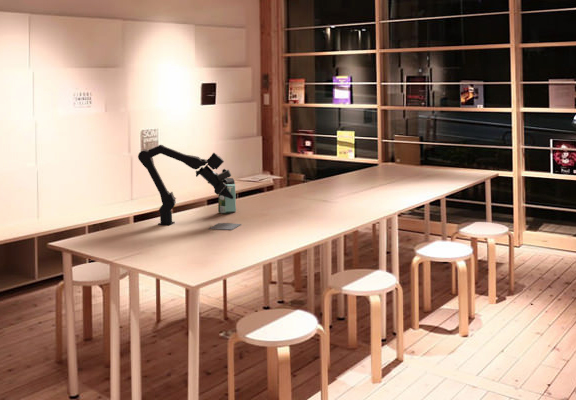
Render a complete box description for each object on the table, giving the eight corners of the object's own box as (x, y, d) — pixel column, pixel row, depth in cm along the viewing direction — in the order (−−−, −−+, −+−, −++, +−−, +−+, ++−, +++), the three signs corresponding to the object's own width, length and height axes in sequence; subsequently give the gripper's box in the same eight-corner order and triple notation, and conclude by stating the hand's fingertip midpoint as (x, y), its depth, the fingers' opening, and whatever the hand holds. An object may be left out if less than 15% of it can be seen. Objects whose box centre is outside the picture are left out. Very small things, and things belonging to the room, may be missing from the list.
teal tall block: (225, 211, 352) (224, 185, 349) (226, 209, 357) (225, 184, 354) (235, 211, 352) (234, 185, 349) (235, 209, 357) (235, 184, 354)
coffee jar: (227, 210, 384) (226, 176, 381) (238, 211, 380) (237, 177, 376) (215, 213, 377) (214, 179, 373) (226, 214, 372) (225, 180, 369)
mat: (231, 230, 336) (231, 229, 336) (208, 228, 340) (208, 228, 340) (241, 224, 347) (241, 224, 347) (218, 223, 351) (218, 222, 351)
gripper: (220, 167, 341) (243, 189, 343) (222, 162, 359) (244, 182, 361) (204, 183, 342) (228, 205, 344) (207, 177, 360) (229, 198, 362)
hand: (233, 197), depth 353 cm, fingers closed on teal tall block, 5 cm apart
